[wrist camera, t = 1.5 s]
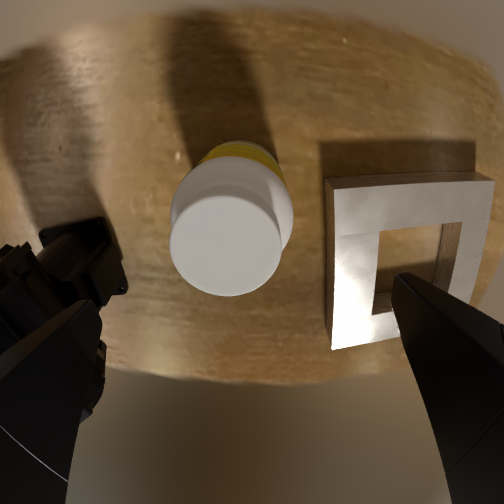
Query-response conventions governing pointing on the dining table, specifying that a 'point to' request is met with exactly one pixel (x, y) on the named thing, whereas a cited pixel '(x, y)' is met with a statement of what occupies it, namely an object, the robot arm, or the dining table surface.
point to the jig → (396, 217)
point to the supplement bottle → (230, 219)
